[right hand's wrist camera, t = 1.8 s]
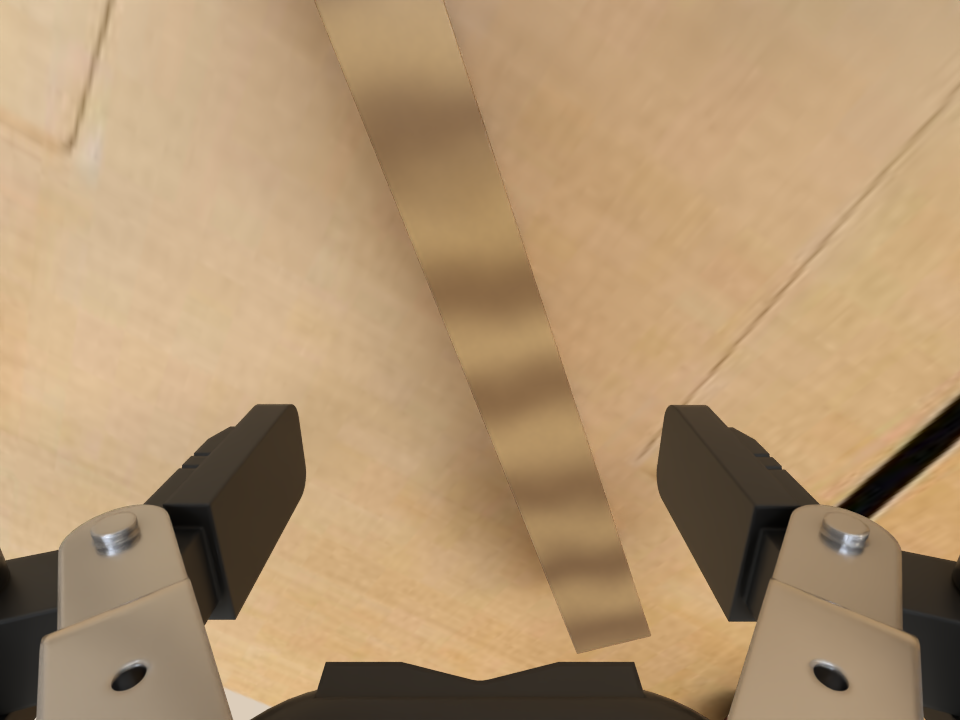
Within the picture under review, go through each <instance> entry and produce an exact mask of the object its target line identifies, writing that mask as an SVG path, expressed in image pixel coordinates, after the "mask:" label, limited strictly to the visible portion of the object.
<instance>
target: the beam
mask: <svg viewBox="0 0 960 720" xmlns="http://www.w3.org/2000/svg"><path fill="white" fill-rule="evenodd" d="M314 1H315V4H316V6H317V9H318V11H319V14H320V16H321V19H322V21H323V24H324V26H325V29H326V31H327V34H328V36H329V39H330V41H331V44H332V46H333V49H334V51H335V54H336V56H337V58H338V61H339V63H340V66H341V68H342V71H343V73H344V76H345V78H346V81H347V83H348V86H349V88H350V91H351V93H352V96H353V98H354V101H355V103H356V106H357V108H358V111H359V113H360V116H361V118H362V121H363V123H364V126H365V128H366V130H367V133H368V135H369V138H370V140H371V143H372V145H373V148H374V150H375V153H376V155H377V158H378V160H379V163H380V165H381V168H382V170H383V173H384V175H385V178H386V180H387V183H388V185H389V188H390V190H391V193H392V195H393V198H394V200H395V203H396V205H397V207H398V210H399V212H400V215H401V217H402V220H403V222H404V225H405V227H406V230H407V232H408V235H409V237H410V240H411V242H412V245H413V247H414V250H415V252H416V255H417V257H418V260H419V262H420V265H421V267H422V270H423V272H424V275H425V277H426V280H427V282H428V284H429V287H430V289H431V292H432V294H433V297H434V299H435V302H436V304H437V307H438V309H439V312H440V314H441V317H442V319H443V322H444V324H445V327H446V329H447V332H448V334H449V337H450V339H451V342H452V344H453V347H454V349H455V352H456V354H457V356H458V359H459V361H460V364H461V366H462V369H463V371H464V374H465V376H466V379H467V381H468V384H469V386H470V389H471V391H472V394H473V396H474V399H475V401H476V404H477V406H478V409H479V411H480V414H481V416H482V419H483V421H484V424H485V426H486V429H487V431H488V433H489V436H490V438H491V441H492V443H493V446H494V448H495V451H496V453H497V456H498V458H499V461H500V463H501V466H502V468H503V471H504V473H505V476H506V478H507V481H508V483H509V486H510V488H511V491H512V493H513V496H514V498H515V501H516V503H517V505H518V508H519V510H520V513H521V515H522V518H523V520H524V523H525V525H526V528H527V530H528V533H529V535H530V538H531V540H532V543H533V545H534V548H535V550H536V553H537V555H538V558H539V560H540V563H541V565H542V568H543V570H544V573H545V575H546V578H547V580H548V582H549V585H550V587H551V590H552V592H553V595H554V597H555V600H556V602H557V605H558V607H559V610H560V612H561V615H562V617H563V620H564V622H565V625H566V627H567V630H568V632H569V635H570V637H571V640H572V642H573V645H574V647H575V650H576V652H577V654H579V653H583V652H587V651H591V650H595V649H599V648H603V647H608V646H612V645H616V644H620V643H624V642H628V641H632V640H637V639H641V638H645V637H649V636H651V634H650V631H649V627H648V624H647V621H646V618H645V615H644V612H643V609H642V606H641V603H640V600H639V597H638V594H637V591H636V588H635V585H634V582H633V579H632V576H631V572H630V569H629V566H628V563H627V560H626V557H625V554H624V551H623V548H622V545H621V542H620V539H619V536H618V533H617V530H616V527H615V524H614V520H613V517H612V514H611V511H610V508H609V505H608V502H607V499H606V496H605V493H604V490H603V487H602V484H601V481H600V478H599V475H598V472H597V469H596V465H595V462H594V459H593V456H592V453H591V450H590V447H589V444H588V441H587V438H586V435H585V432H584V429H583V426H582V423H581V420H580V417H579V413H578V410H577V407H576V404H575V401H574V398H573V395H572V392H571V389H570V386H569V383H568V380H567V377H566V374H565V371H564V368H563V365H562V362H561V358H560V355H559V352H558V349H557V346H556V343H555V340H554V337H553V334H552V331H551V328H550V325H549V322H548V319H547V316H546V313H545V310H544V306H543V303H542V300H541V297H540V294H539V291H538V288H537V285H536V282H535V279H534V276H533V273H532V270H531V267H530V264H529V261H528V258H527V255H526V251H525V248H524V245H523V242H522V239H521V236H520V233H519V230H518V227H517V224H516V221H515V218H514V215H513V212H512V209H511V206H510V203H509V199H508V196H507V193H506V190H505V187H504V184H503V181H502V178H501V175H500V172H499V169H498V166H497V163H496V160H495V157H494V154H493V151H492V148H491V144H490V141H489V138H488V135H487V132H486V129H485V126H484V123H483V120H482V117H481V114H480V111H479V108H478V105H477V102H476V99H475V96H474V92H473V89H472V86H471V83H470V80H469V77H468V74H467V71H466V68H465V65H464V62H463V59H462V56H461V53H460V50H459V47H458V44H457V41H456V37H455V34H454V31H453V28H452V25H451V22H450V19H449V16H448V13H447V10H446V7H445V4H444V1H443V0H314Z"/></svg>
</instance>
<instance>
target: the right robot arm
mask: <svg viewBox="0 0 960 720" xmlns="http://www.w3.org/2000/svg"><path fill="white" fill-rule="evenodd" d="M305 481H306V466H305V459H304V451H303V444H302V437H301V430H300V423H299V416H298V412H297V409H296V407H295V406H294V405H292V404H257V405H255V406H254V407H253V408H252V409H251V410H250V411H249V413H248V414H247V415H246V416H245V417H244V418H243V419H242V420H241V421H240V422H239V423H238V424H237V425H236V426H235V427H229V428H227V429H225V430H223V431H222V432H220V433H218V434H216V435H214V436H213V437H211V438H209V439H208V440H207V441H206V442H205V443H204V444H203V445H202V446H201V447H200V448H199V449H198V450H197V451H196V452H195V453H194V456H191V457H190V458H189V459H188V460H187V461H186V462H185V463H184V464H183V465H182V468H179V469H178V470H177V471H176V472H175V473H174V474H173V475H172V476H171V477H170V478H169V479H168V480H167V481H166V482H165V483H164V484H163V485H162V486H161V487H160V488H159V489H158V490H157V491H156V492H155V493H154V494H153V495H152V496H151V497H150V498H149V499H148V500H147V501H146V502H145V503H144V504H143V505H132V506H127V507H122V508H118V509H115V510H112V511H109V512H106V513H103V514H101V515H99V516H96V517H94V518H92V519H90V520H89V521H87V522H85V523H83V524H82V525H80V526H79V527H77V528H76V529H75V530H73V531H72V532H71V533H70V534H69V535H68V536H67V537H66V538H65V539H64V541H63V542H62V543H61V545H60V547H59V550H56V551H51V552H46V553H41V554H36V555H31V556H26V557H21V558H16V559H11V560H6V561H5V559H4V556H3V554H2V551H1V549H0V720H34V719H35V718H36V720H233V718H232V715H231V712H230V708H229V705H228V702H227V698H226V695H225V692H224V689H223V685H222V682H221V679H220V676H219V672H218V669H217V666H216V663H215V659H214V656H213V653H212V649H211V646H210V643H209V640H208V636H207V633H206V630H205V627H204V625H205V624H206V622H207V620H235V619H236V618H237V616H238V614H239V612H240V610H241V608H242V606H243V605H244V603H245V601H246V599H247V597H248V595H249V593H250V592H251V590H252V588H253V586H254V584H255V582H256V580H257V579H258V577H259V575H260V573H261V571H262V569H263V567H264V566H265V564H266V562H267V560H268V558H269V556H270V554H271V553H272V551H273V549H274V547H275V545H276V543H277V541H278V540H279V538H280V536H281V534H282V532H283V530H284V528H285V527H286V525H287V523H288V521H289V519H290V517H291V515H292V514H293V512H294V510H295V508H296V506H297V504H298V502H299V501H300V499H301V497H302V494H303V491H304V487H305ZM657 484H658V490H659V493H660V496H661V498H662V500H663V502H664V504H665V506H666V508H667V509H668V511H669V513H670V515H671V517H672V519H673V520H674V522H675V524H676V526H677V528H678V530H679V531H680V533H681V535H682V537H683V539H684V541H685V542H686V544H687V546H688V548H689V550H690V552H691V553H692V555H693V557H694V559H695V561H696V563H697V564H698V566H699V568H700V570H701V572H702V574H703V575H704V577H705V579H706V581H707V583H708V585H709V586H710V588H711V590H712V592H713V594H714V596H715V597H716V599H717V601H718V603H719V605H720V607H721V608H722V610H723V612H724V614H725V616H726V618H727V619H728V621H729V622H757V623H756V627H755V630H754V633H753V636H752V640H751V643H750V646H749V649H748V653H747V656H746V659H745V663H744V666H743V669H742V672H741V676H740V679H739V682H738V685H737V689H736V692H735V695H734V698H733V702H732V705H731V708H730V712H729V715H728V718H727V720H924V718H925V719H926V720H960V556H959V558H958V561H957V562H955V561H950V560H945V559H940V558H935V557H930V556H925V555H920V554H915V553H910V552H905V551H901V547H900V545H899V543H898V542H897V541H896V539H895V538H894V537H893V536H892V535H891V534H890V533H889V532H888V531H887V530H885V529H884V528H883V527H881V526H880V525H878V524H877V523H875V522H873V521H871V520H870V519H868V518H866V517H864V516H861V515H859V514H857V513H854V512H851V511H848V510H845V509H842V508H838V507H833V506H828V505H820V504H819V503H818V502H817V501H816V500H815V499H814V498H813V497H812V496H811V495H810V494H809V493H808V492H807V491H806V490H805V489H804V488H803V487H802V486H801V485H800V484H799V483H798V482H797V481H796V480H795V479H794V478H793V477H792V476H791V475H790V474H789V473H788V472H787V471H786V470H782V466H781V465H780V464H779V463H778V462H777V461H776V460H775V459H774V458H773V457H770V456H769V453H768V452H767V451H766V450H765V449H764V448H763V447H762V446H761V445H760V444H759V443H758V442H757V441H756V440H754V439H753V438H751V437H749V436H747V435H745V434H744V433H742V432H740V431H738V430H736V429H735V428H733V427H727V426H726V425H725V424H724V423H723V422H722V421H721V419H720V418H719V417H718V416H717V415H716V414H715V413H714V412H713V411H712V410H711V409H710V408H709V407H708V406H706V405H670V406H669V407H668V408H667V409H666V412H665V416H664V422H663V429H662V436H661V443H660V450H659V457H658V464H657ZM251 720H709V719H708V718H706V717H704V716H703V715H701V714H699V713H698V712H696V711H694V710H693V709H691V708H689V707H686V706H684V705H682V704H680V703H678V702H676V701H674V700H672V699H669V698H666V697H663V696H661V695H658V694H655V693H652V692H649V691H645V690H643V689H642V686H641V683H640V679H639V676H638V673H637V670H636V667H635V663H634V662H557V663H553V664H549V665H545V666H541V667H537V668H533V669H529V670H525V671H521V672H517V673H513V674H509V675H505V676H501V677H497V678H493V679H489V680H484V681H476V680H471V679H467V678H463V677H459V676H455V675H451V674H447V673H443V672H439V671H435V670H431V669H427V668H423V667H419V666H415V665H411V664H407V663H403V662H326V663H325V667H324V670H323V673H322V676H321V679H320V683H319V686H318V689H317V690H315V691H311V692H308V693H305V694H302V695H299V696H297V697H294V698H291V699H288V700H286V701H284V702H282V703H280V704H278V705H276V706H274V707H271V708H269V709H267V710H266V711H264V712H263V713H261V714H259V715H257V716H256V717H254V718H253V719H251Z"/></svg>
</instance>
